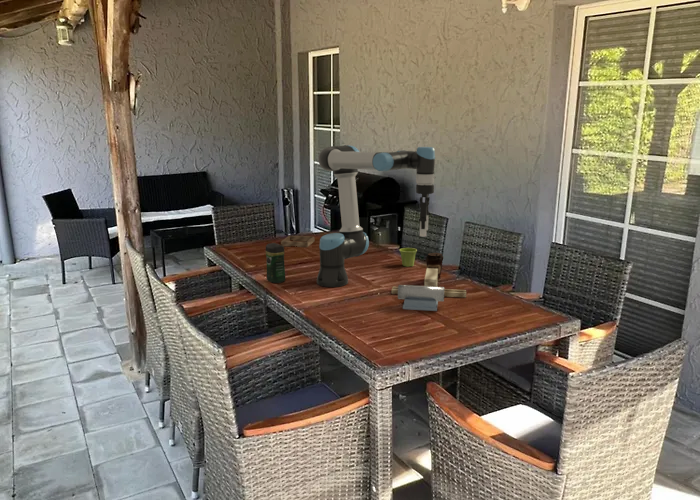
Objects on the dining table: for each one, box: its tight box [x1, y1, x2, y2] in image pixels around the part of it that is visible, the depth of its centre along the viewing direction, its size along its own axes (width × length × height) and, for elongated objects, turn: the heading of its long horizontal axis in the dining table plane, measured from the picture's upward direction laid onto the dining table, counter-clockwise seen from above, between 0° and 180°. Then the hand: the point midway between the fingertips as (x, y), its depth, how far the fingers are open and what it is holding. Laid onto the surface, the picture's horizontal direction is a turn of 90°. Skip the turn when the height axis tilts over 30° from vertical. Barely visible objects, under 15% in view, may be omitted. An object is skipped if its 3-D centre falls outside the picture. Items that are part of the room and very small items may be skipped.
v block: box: [402, 299, 439, 312], centre depth 235 cm, size 14×10×4 cm
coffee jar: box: [265, 242, 286, 284], centre depth 272 cm, size 10×8×19 cm
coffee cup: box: [425, 252, 444, 282], centre depth 272 cm, size 9×8×13 cm
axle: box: [397, 284, 445, 302], centre depth 235 cm, size 19×6×6 cm, turn 79°
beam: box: [391, 267, 467, 298], centre depth 251 cm, size 33×18×10 cm, turn 79°
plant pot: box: [399, 247, 418, 268], centre depth 299 cm, size 9×9×9 cm
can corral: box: [280, 235, 315, 248], centre depth 353 cm, size 17×17×3 cm
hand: (423, 233), depth 242 cm, fingers open, 13 cm apart
